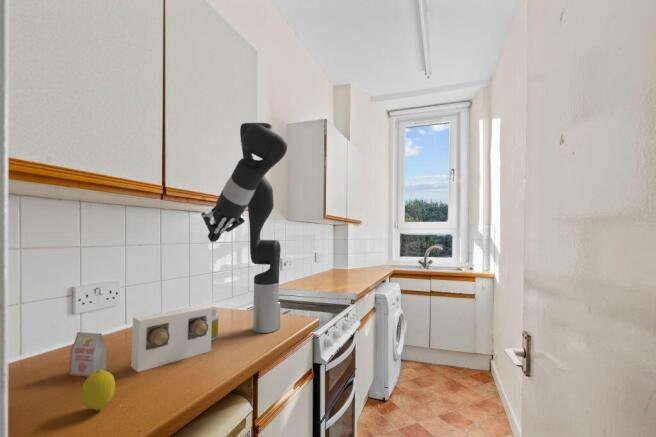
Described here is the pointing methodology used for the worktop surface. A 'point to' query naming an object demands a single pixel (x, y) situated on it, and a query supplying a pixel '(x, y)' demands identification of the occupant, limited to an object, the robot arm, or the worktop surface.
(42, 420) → the worktop surface
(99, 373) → the lemon
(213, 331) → the supplement bottle
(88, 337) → the white milk carton
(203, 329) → the knob
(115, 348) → the worktop surface
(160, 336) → the knob
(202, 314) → the panel
